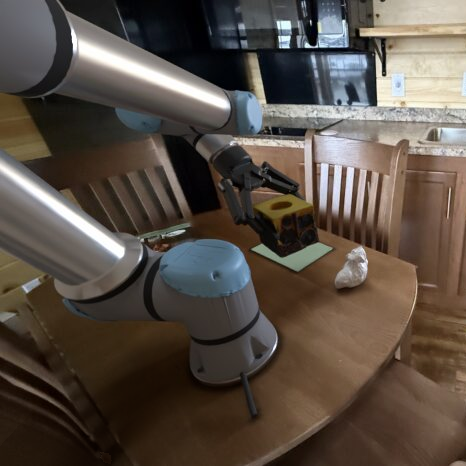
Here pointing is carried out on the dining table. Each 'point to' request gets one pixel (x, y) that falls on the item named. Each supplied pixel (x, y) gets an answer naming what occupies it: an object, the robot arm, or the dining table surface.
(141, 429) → the dining table surface
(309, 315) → the dining table surface
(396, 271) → the dining table surface
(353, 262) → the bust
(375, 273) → the dining table surface
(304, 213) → the yellow and black cube
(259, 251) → the napkin
